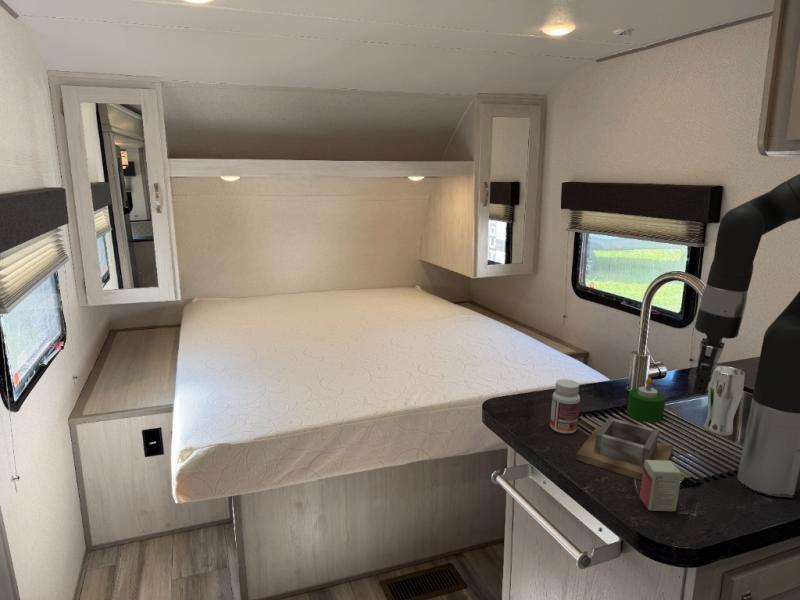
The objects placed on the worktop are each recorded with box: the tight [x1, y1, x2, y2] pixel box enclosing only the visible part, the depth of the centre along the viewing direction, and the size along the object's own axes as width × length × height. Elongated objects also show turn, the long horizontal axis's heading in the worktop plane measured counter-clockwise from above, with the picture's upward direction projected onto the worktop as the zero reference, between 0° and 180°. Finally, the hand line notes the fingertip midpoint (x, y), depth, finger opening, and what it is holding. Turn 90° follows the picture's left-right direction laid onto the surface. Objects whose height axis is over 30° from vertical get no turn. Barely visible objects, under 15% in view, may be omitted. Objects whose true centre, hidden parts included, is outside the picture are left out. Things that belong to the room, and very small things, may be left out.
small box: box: [639, 460, 683, 512], centre depth 101 cm, size 5×4×8 cm
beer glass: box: [703, 365, 746, 437], centre depth 131 cm, size 7×7×15 cm
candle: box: [626, 377, 667, 423], centre depth 139 cm, size 8×8×10 cm
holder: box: [575, 417, 674, 481], centre depth 118 cm, size 16×16×6 cm
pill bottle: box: [549, 378, 581, 434], centre depth 130 cm, size 6×6×11 cm
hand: (701, 386), depth 113 cm, fingers open, 8 cm apart
